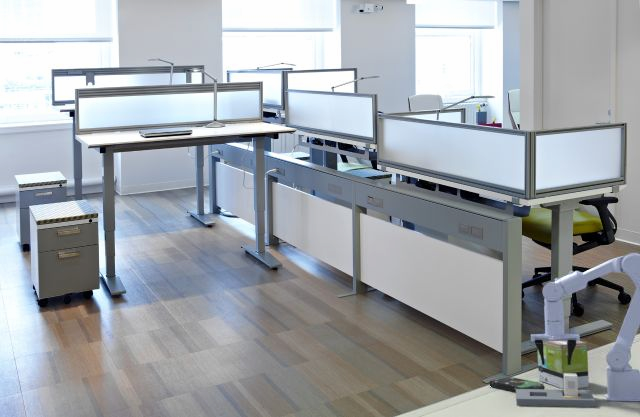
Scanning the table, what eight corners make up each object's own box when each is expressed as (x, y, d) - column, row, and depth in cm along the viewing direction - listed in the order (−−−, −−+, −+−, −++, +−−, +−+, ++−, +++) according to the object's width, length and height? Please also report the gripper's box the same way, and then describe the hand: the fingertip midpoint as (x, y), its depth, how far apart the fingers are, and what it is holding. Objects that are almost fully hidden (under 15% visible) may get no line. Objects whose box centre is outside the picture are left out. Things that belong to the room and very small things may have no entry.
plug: (577, 400, 232) (575, 373, 232) (578, 403, 227) (577, 376, 227) (564, 399, 233) (563, 373, 233) (565, 403, 228) (564, 376, 228)
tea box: (537, 381, 262) (535, 337, 262) (563, 379, 264) (561, 335, 265) (563, 389, 247) (561, 343, 248) (590, 387, 250) (588, 341, 250)
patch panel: (590, 396, 236) (589, 389, 236) (595, 407, 222) (595, 399, 222) (516, 395, 241) (515, 388, 241) (516, 405, 227) (516, 398, 227)
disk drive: (489, 389, 254) (522, 396, 242) (488, 380, 254) (521, 387, 242) (511, 385, 260) (545, 391, 247) (511, 376, 260) (545, 382, 247)
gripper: (530, 322, 238) (532, 366, 238) (579, 322, 235) (581, 366, 235) (529, 319, 245) (531, 362, 245) (577, 319, 242) (579, 362, 241)
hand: (556, 364), depth 240 cm, fingers open, 7 cm apart
